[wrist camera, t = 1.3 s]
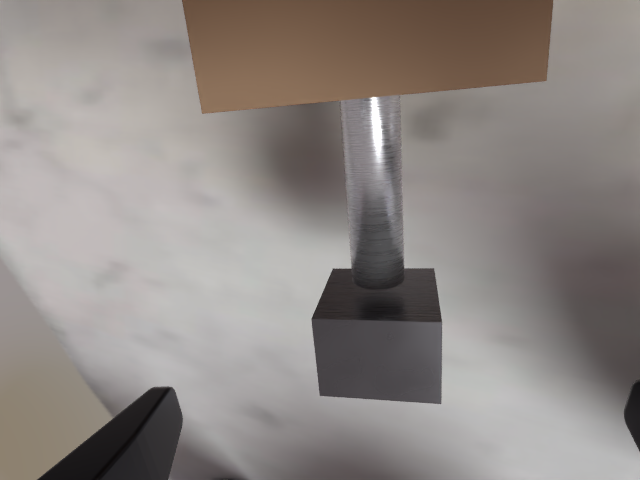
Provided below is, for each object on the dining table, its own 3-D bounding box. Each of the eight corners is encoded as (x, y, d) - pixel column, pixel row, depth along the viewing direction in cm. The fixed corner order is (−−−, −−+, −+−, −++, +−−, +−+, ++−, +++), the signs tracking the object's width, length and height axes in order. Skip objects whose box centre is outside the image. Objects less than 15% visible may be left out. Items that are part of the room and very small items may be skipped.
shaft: (433, 335, 17) (441, 404, 13) (338, 332, 18) (320, 395, 14) (434, -323, 10) (449, -552, 7) (285, -276, 11) (225, -457, 8)
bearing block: (474, 87, 18) (546, 80, 9) (299, 103, 20) (202, 113, 10) (479, -47, 16) (573, -231, 7) (287, -15, 18) (159, -129, 9)
